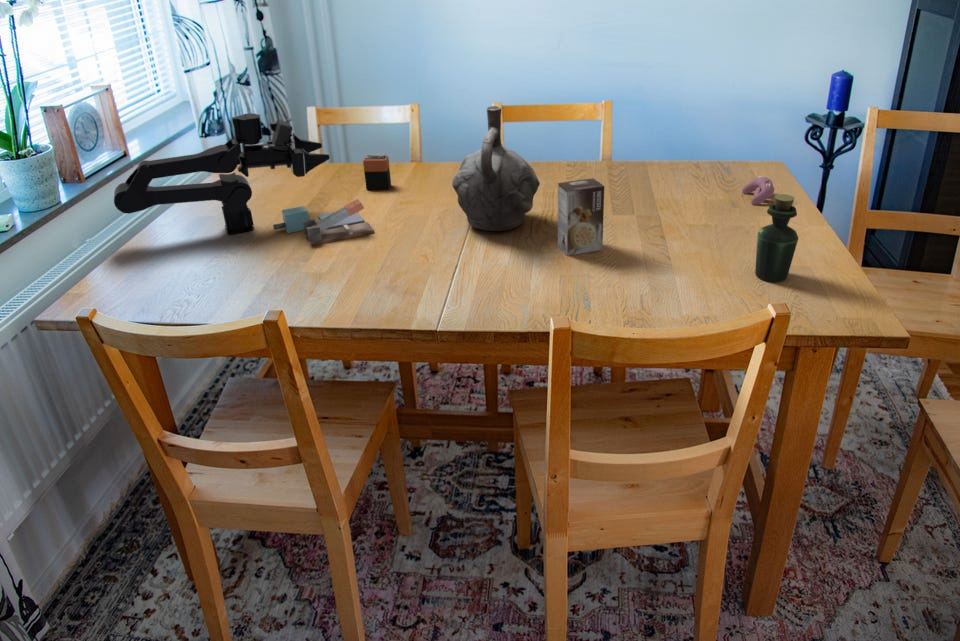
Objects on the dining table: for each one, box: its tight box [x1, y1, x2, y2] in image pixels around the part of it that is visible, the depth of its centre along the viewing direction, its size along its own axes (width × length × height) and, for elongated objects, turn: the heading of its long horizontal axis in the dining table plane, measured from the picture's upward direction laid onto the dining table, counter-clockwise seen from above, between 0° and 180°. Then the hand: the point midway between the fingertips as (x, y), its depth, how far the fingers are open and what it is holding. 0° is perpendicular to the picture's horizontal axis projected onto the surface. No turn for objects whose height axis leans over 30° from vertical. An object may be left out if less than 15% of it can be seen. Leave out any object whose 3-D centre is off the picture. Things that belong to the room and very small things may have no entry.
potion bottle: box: [754, 193, 799, 283], centre depth 158 cm, size 8×8×18 cm
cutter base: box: [303, 218, 375, 246], centre depth 190 cm, size 16×6×4 cm, turn 113°
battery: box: [362, 153, 392, 191], centre depth 218 cm, size 4×7×10 cm, turn 86°
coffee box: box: [557, 177, 605, 256], centre depth 175 cm, size 9×6×16 cm
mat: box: [317, 210, 365, 230], centre depth 199 cm, size 10×10×1 cm
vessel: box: [451, 105, 541, 232], centre depth 185 cm, size 24×22×30 cm
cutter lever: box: [310, 198, 365, 232], centre depth 189 cm, size 15×3×2 cm, turn 112°
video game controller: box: [741, 175, 775, 206], centre depth 201 cm, size 10×5×7 cm, turn 179°
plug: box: [272, 205, 310, 234], centre depth 195 cm, size 9×4×5 cm, turn 113°
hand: (325, 150), depth 197 cm, fingers open, 9 cm apart
